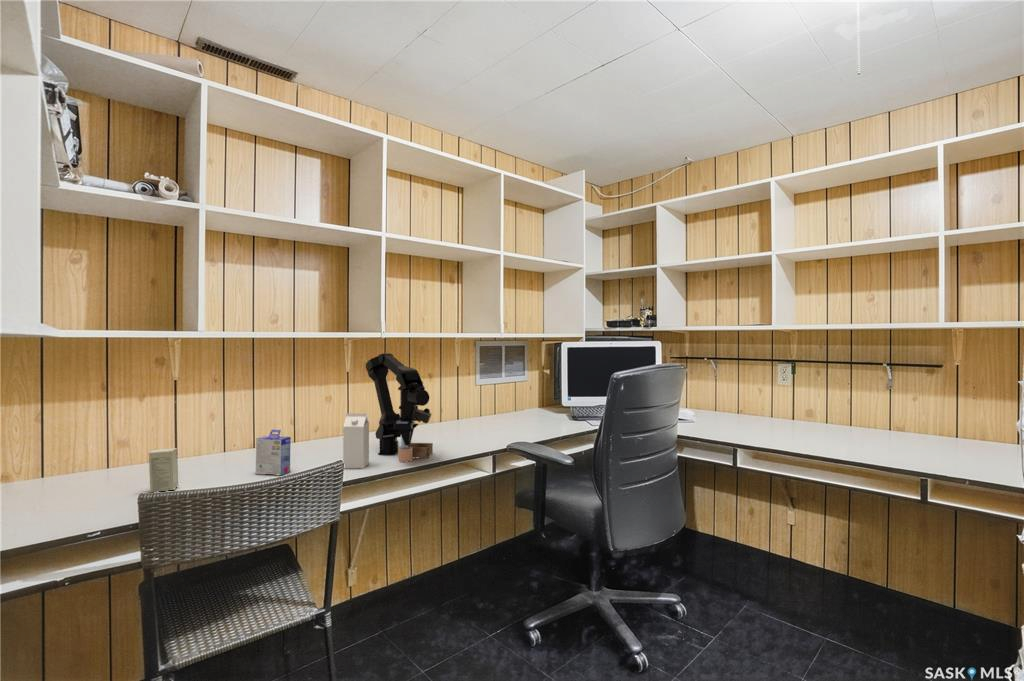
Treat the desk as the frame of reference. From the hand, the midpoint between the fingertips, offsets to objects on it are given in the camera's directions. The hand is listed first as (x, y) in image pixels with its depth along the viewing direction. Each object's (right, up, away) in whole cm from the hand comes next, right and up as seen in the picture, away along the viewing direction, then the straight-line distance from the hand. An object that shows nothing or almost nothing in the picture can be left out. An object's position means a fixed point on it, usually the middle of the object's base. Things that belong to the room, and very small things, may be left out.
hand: (408, 444), depth 187 cm
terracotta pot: (-1, -6, 0) cm, 6 cm away
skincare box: (-66, -6, -37) cm, 76 cm away
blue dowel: (-1, -6, 0) cm, 6 cm away
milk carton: (-17, -6, -8) cm, 20 cm away
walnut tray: (+2, -6, +8) cm, 10 cm away
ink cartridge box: (-42, -6, -18) cm, 46 cm away
